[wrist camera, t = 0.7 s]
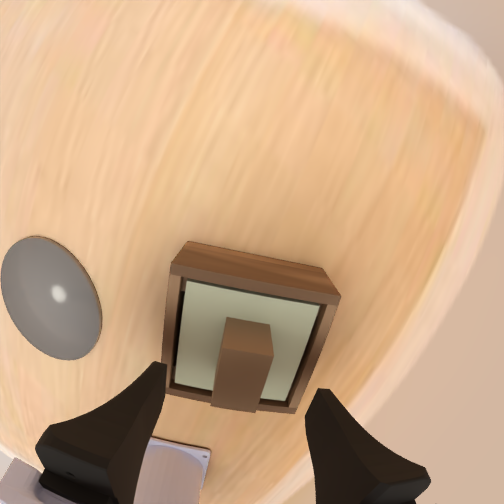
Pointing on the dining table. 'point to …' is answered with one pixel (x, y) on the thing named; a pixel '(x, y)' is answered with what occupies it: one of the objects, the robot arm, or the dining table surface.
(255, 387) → the lid
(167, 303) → the brown wooden open box
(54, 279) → the coaster
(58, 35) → the dining table surface
